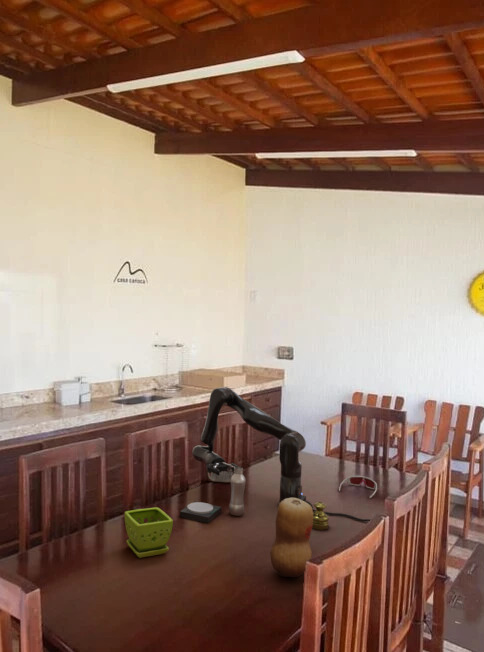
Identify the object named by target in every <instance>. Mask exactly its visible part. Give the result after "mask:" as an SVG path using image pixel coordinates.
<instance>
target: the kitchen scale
mask: <svg viewBox="0 0 484 652" xmlns="http://www.w3.org/2000/svg"><path fill="white" fill-rule="evenodd" d="M222 510H223V506H219V505H216V504H210V503H206V502H201V501H196V500H194V501H193V502H191V503H188V505H187V506H185V507H184V508H183V509H181V510H180V511H179V517H180V518H183V519H187V520H192V521H197V522H201V523H205V524H209V523H210V522H212V521H213V520H214V519H216V518H217V517H218V516H219V515H220V514H221V513H222Z"/></svg>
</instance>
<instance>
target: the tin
mask: <svg viewBox="0 0 484 652" xmlns="http://www.w3.org/2000/svg"><path fill="white" fill-rule="evenodd" d="M227 470H228V469H227ZM231 470H232V469H231ZM233 475H234V473H233V472H226V471H224V472H223V471H222V472H220V475H216V474H214V473H213V472H211V473H209V472H208V471H207V470H206V476H207V479H208V480H209V481H210V482H214V483H222V484H223V483H224V484H231V477H232V476H233Z"/></svg>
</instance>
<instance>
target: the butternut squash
mask: <svg viewBox="0 0 484 652" xmlns="http://www.w3.org/2000/svg"><path fill="white" fill-rule="evenodd" d="M313 513H314V512H313V510H312V507H311V506H310V505H309V504H308V503H306V502H305V501H302V500H300V499H297V498H286V499H284V500H283V501H281V503H280V504H279V503H278V507H277V511H276V517H275V538H274V541H273V543H272V546H271V548H270V551H269V555H270V556H269V557H270V563H271V565H272V568H273V569H274V571H275V572H276V573H277V574H278V575H279V576H281V577H285V578H287V577H288V578H298V577H300V576H303V575H305V574H304V571H305V563H306V561H307V560H309V559H311V558H313V557H312V554H313V553H312V549H311V545H310V539H311V534H312V529H313V528H312V526H313Z"/></svg>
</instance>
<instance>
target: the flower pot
mask: <svg viewBox="0 0 484 652" xmlns="http://www.w3.org/2000/svg"><path fill="white" fill-rule="evenodd" d="M145 520H147V521H146V522H145ZM124 524H125V530H126V534H127V536H128V539H126V541H125V542H126V544H127V545H128V547H129V548H130V549H131V551H133V553H134V554H135V555H136V556H137V557H138V558H139V559H142V558H146V557H152V556H159V555H164V554H165V553H167V552H168V551H169V550H170V549H169V547H168V546H167V543H168V541H169V539H170V538H171V534H172V531H173V525H174V520H173V519H172V517H171V516H169V515H168V514H167V513H166V512H165V511H163V510H162V509H161V508H160V507H157V506H156V507H155V506H154V507H147V508H139V509H131V510H126V511H124Z"/></svg>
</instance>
